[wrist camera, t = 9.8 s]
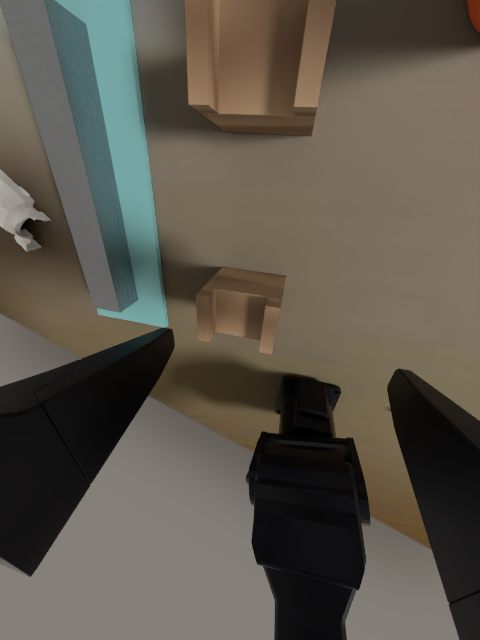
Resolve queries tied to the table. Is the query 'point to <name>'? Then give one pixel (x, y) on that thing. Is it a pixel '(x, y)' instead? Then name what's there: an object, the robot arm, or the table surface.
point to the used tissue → (18, 212)
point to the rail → (75, 141)
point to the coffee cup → (474, 13)
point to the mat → (126, 148)
